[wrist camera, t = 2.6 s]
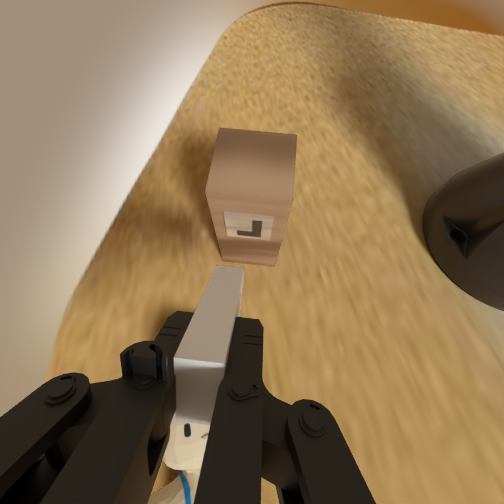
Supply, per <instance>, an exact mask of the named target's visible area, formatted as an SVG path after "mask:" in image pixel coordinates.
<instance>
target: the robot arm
mask: <svg viewBox="0 0 504 504" xmlns="http://www.w3.org/2000/svg"><path fill="white" fill-rule="evenodd" d="M423 228H424V234H425V238H426V241H427V244H428V246H429V249H430V251H431V253H432V255H433V256H434V258H435V260H436V261H437V263H438V264H439V266H440V267H441V268H442V269H443V271H444V272H445V273H446V274H447V275H448V276H449V277H450V278H451V279H452V280H453V281H454V282H455V283H456V284H457V285H458V286H459V287H461V288H462V289H463V290H464V291H466V292H467V293H468V294H470V295H471V296H473V297H475V298H476V299H478V300H480V301H481V302H483V303H485V304H487V305H489V306H492V307H494V308H497V309H499V310H502V311H504V152H503V153H501V154H499V155H497V156H495V157H492V158H490V159H488V160H486V161H484V162H481V163H479V164H477V165H475V166H473V167H470V168H468V169H466V170H464V171H462V172H460V173H458V174H456V175H455V176H453V177H452V178H451V179H449V180H448V181H447V182H446V183H445V184H444V185H443V186H441V187H440V188H439V189H438V190H437V191H436V192H435V193H434V194H433V195H432V196H431V198H430V199H429V201H428V203H427V205H426V208H425V211H424V216H423ZM243 276H244V268H237V267H228V266H219V265H216V267H215V269H214V271H213V274H212V276H211V278H210V280H209V282H208V284H207V287H206V289H205V291H204V293H203V295H202V297H201V300H200V302H199V304H198V306H197V308H196V310H195V313H192V312H183V311H177V312H175V313H174V314H172V315H171V316H170V317H168V319H167V320H166V322H165V324H164V325H163V328H162V329H161V330H160V332H159V335H157V337H156V339H155V340H154V341H142V342H138V343H135V344H133V345H131V346H129V347H127V348H126V349H125V350H124V351H123V352H122V353H121V354H120V359H121V367H122V375H123V376H122V377H121V378H119V379H115V380H111V381H105V382H98V383H92V384H90V383H89V379H88V377H86V376H85V375H84V374H81V373H75V372H74V373H67V374H63V375H60V376H57V377H55V378H52V379H51V380H49V381H48V382H46V383H44V384H43V385H42V386H40V387H39V388H38V389H36V390H35V391H34V392H32V393H31V394H30V395H29V396H27V397H26V398H25V399H23V400H22V401H21V402H19V403H18V404H17V405H16V406H14V407H13V408H12V409H11V410H9V411H8V412H7V413H6V414H4V415H3V416H1V417H0V504H147V503H148V500H149V497H150V494H151V491H152V489H153V486H154V483H155V480H156V477H157V474H158V471H159V468H160V465H161V462H162V459H163V456H164V453H165V451H166V448H167V445H168V442H169V438H170V424H171V421H172V419H173V416H174V413H175V421H180V422H188V423H196V424H204V425H210V429H209V433H208V438H207V443H206V447H205V452H204V457H203V461H202V466H201V471H200V475H199V480H198V484H197V489H196V494H195V498H194V503H193V504H261V477H262V478H264V479H266V480H267V481H269V482H271V483H273V484H274V485H276V490H277V494H278V499H279V504H376V503H375V501H374V499H373V497H372V495H371V493H370V491H369V488H368V486H367V484H366V482H365V480H364V478H363V476H362V474H361V472H360V470H359V468H358V466H357V464H356V462H355V459H354V457H353V455H352V453H351V451H350V449H349V447H348V445H347V443H346V441H345V439H344V437H343V435H342V433H341V431H340V428H339V426H338V424H337V422H336V420H335V418H334V417H333V416H332V414H331V413H330V411H329V410H328V409H327V408H325V407H324V406H323V405H322V404H320V403H318V402H315V401H313V400H306V399H302V400H299V401H296V402H295V403H294V404H293V405H290V404H288V403H285V402H283V401H281V400H279V399H277V398H276V397H274V396H273V395H272V394H270V393H269V392H268V390H267V389H266V387H265V386H264V383H263V379H262V363H263V326H262V324H261V322H260V321H259V319H251V318H242V317H239V316H240V309H241V298H242V287H243Z"/></svg>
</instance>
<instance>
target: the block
mask: <svg viewBox="0 0 504 504" xmlns="http://www.w3.org/2000/svg"><path fill="white" fill-rule="evenodd" d="M296 143H297V135H294V134H283V133H272V132H261V131H251V130H240V129H229V128H219V131H218V136H217V140H216V145H215V149H214V153H213V158H212V162H211V167H210V171H209V176H208V180H207V185H206V189H205V193H206V197H207V201H208V205H209V209H210V213H211V217H212V220H213V224H214V228H215V232H216V236H217V240H218V244H219V248H220V251H221V255H222V259H223V261H228V262H237V263H246V264H255V265H264V266H273V267H275V263H276V260H277V256H278V253H279V249H280V246H281V242H282V238H283V235H284V231H285V228H286V224H287V221H288V217H289V213H290V210H291V206H292V203H293V194H294V177H295V160H296Z"/></svg>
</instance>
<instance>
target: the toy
mask: <svg viewBox="0 0 504 504" xmlns="http://www.w3.org/2000/svg"><path fill="white" fill-rule="evenodd" d="M209 429H210V425H204V424H196V423H188V422H180V421H175V413H174V416H173V419H172V421H171V424H170V438H169V442H168V445H167V448H166V451H165V453H164V456H163V459H162V460H163V461H164V462H165V464H166V465H167V466H168V467H170V468H172V469H175V470H180V471H179V475H178V476H177V477H176V478H175V479H174V480H173V481H172V482H171V483H169V484H168V485H166V486H164V487H163V488H161V489H159V490H158V491H156V492H154V493H153V494H151V495H150V497H149V500H148V503H147V504H193V503H194V498H195V494H196V489H197V484H198V480H199V475H200V471H201V466H202V461H203V457H204V452H205V447H206V443H207V438H208V433H209Z"/></svg>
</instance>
